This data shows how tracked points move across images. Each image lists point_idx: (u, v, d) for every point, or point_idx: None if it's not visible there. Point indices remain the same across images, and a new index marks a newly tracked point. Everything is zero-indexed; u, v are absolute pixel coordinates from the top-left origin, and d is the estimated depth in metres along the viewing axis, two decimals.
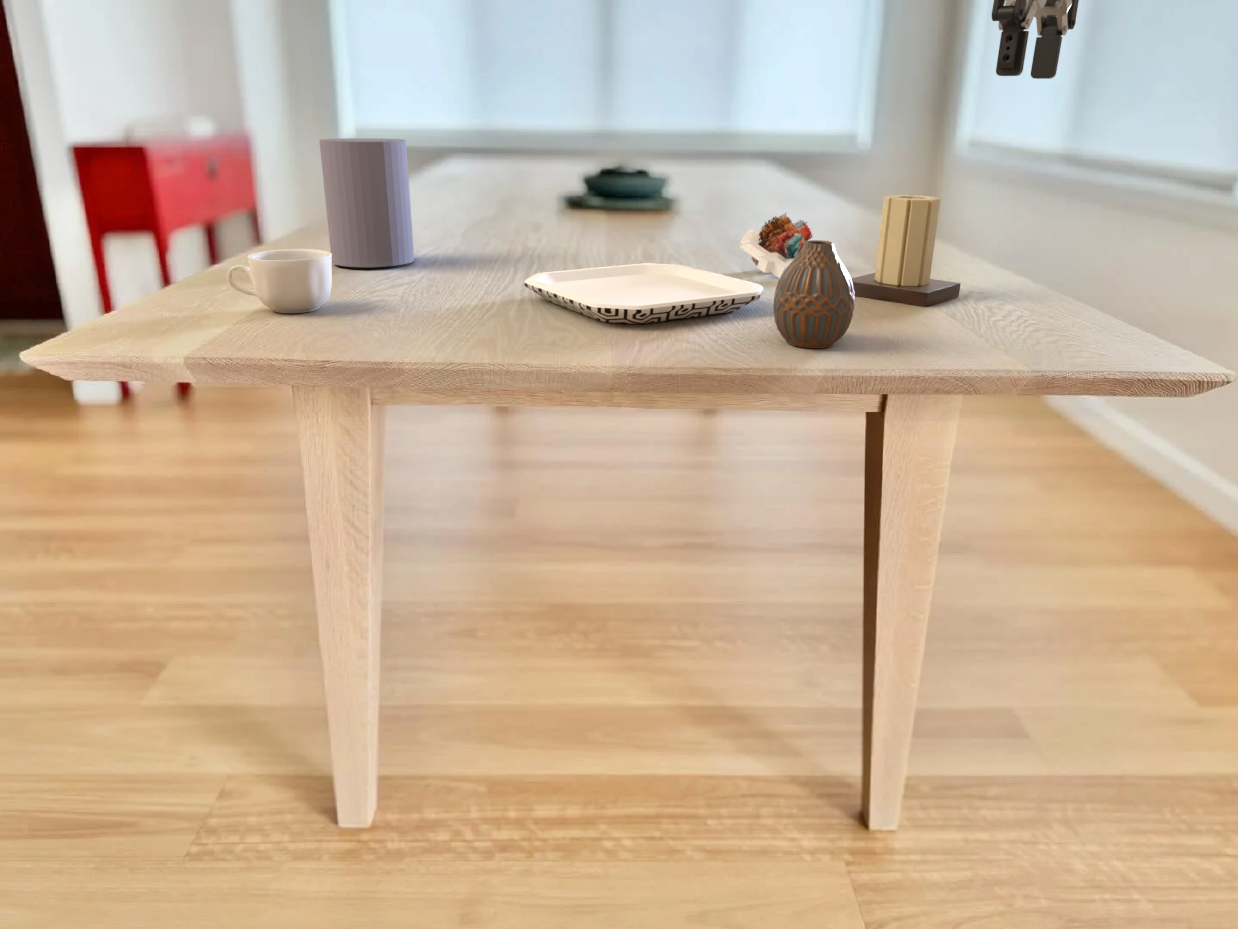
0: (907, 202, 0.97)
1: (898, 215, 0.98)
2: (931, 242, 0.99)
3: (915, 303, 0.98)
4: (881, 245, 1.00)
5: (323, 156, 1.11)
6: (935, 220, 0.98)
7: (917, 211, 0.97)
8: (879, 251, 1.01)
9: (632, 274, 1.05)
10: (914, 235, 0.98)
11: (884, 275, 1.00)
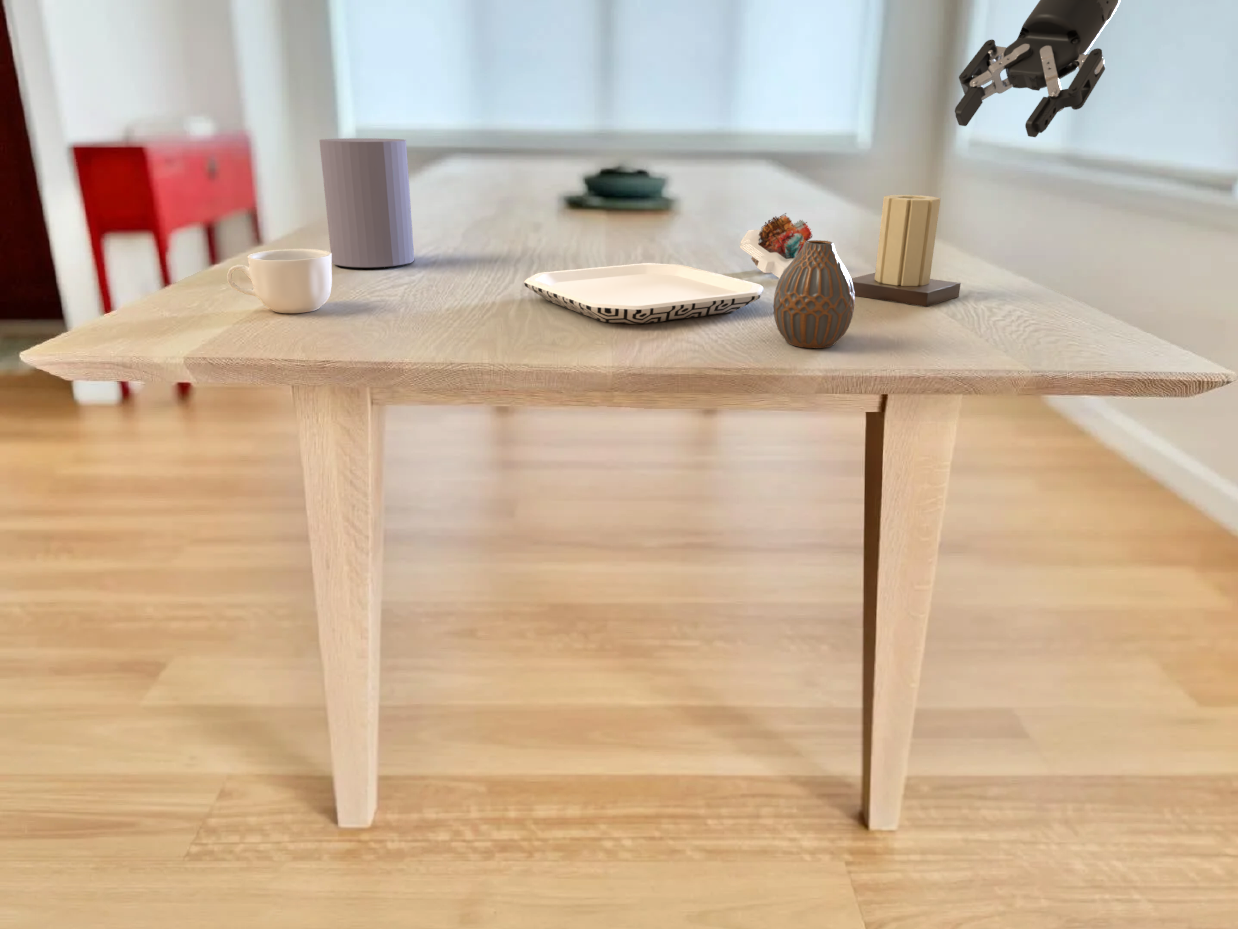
0: (907, 202, 0.97)
1: (898, 215, 0.98)
2: (931, 242, 0.99)
3: (915, 303, 0.98)
4: (881, 245, 1.00)
5: (323, 156, 1.11)
6: (935, 220, 0.98)
7: (917, 211, 0.97)
8: (879, 251, 1.01)
9: (632, 274, 1.05)
10: (914, 235, 0.98)
11: (884, 275, 1.00)
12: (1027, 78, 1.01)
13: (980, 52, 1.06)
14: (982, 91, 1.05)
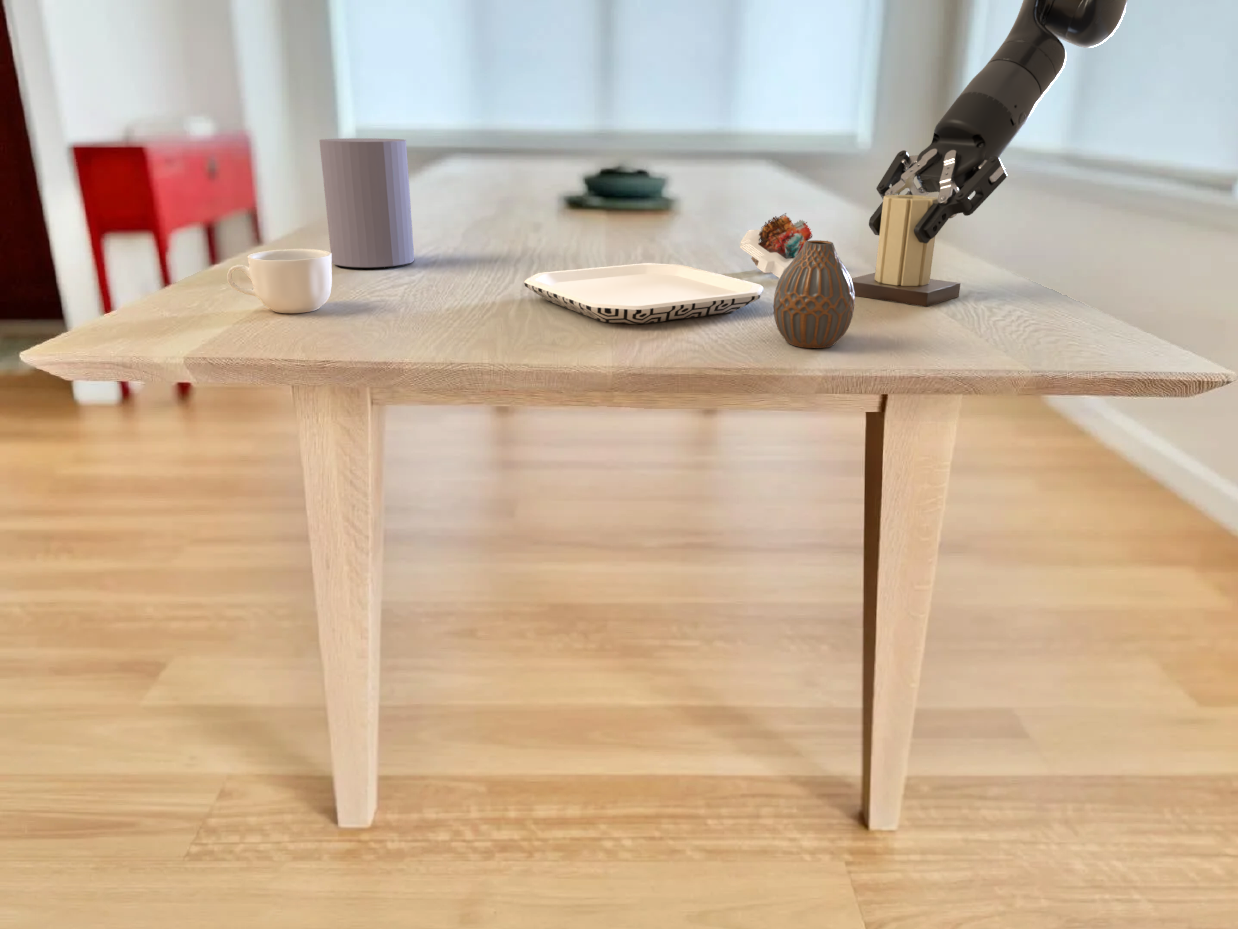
0: (907, 202, 0.97)
1: (898, 215, 0.98)
2: (931, 242, 0.99)
3: (915, 303, 0.98)
4: (881, 245, 1.00)
5: (323, 156, 1.11)
6: None
7: (917, 211, 0.97)
8: (879, 251, 1.01)
9: (632, 274, 1.05)
10: (914, 235, 0.98)
11: (884, 275, 1.00)
12: (934, 182, 0.99)
13: (893, 163, 1.04)
14: None
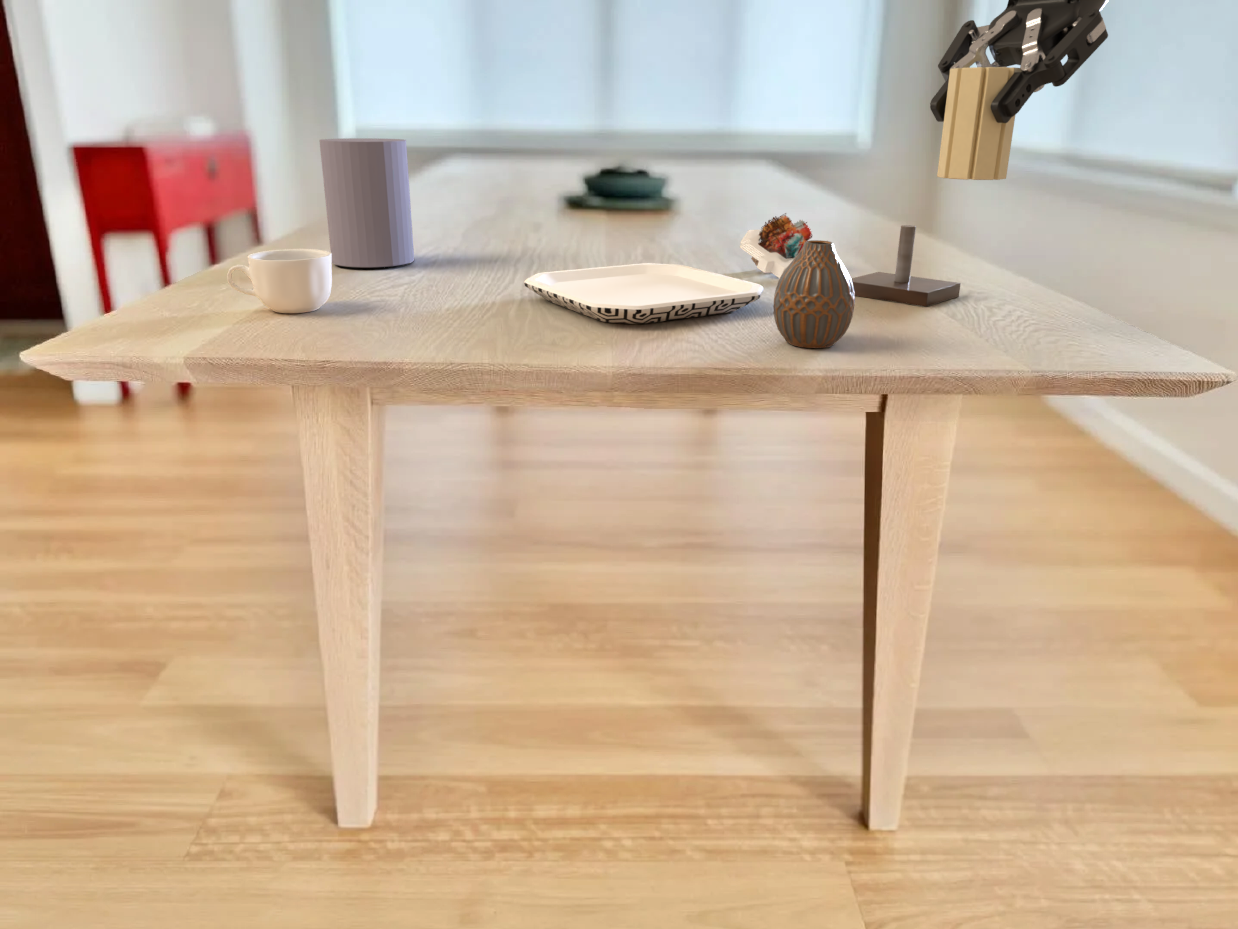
0: (982, 71, 0.77)
1: (970, 88, 0.78)
2: (1010, 124, 0.79)
3: (915, 303, 0.98)
4: (947, 130, 0.81)
5: (323, 156, 1.11)
6: None
7: (994, 82, 0.77)
8: (944, 139, 0.82)
9: (632, 274, 1.05)
10: (990, 113, 0.78)
11: (951, 167, 0.81)
12: (1013, 50, 0.80)
13: (958, 36, 0.85)
14: None
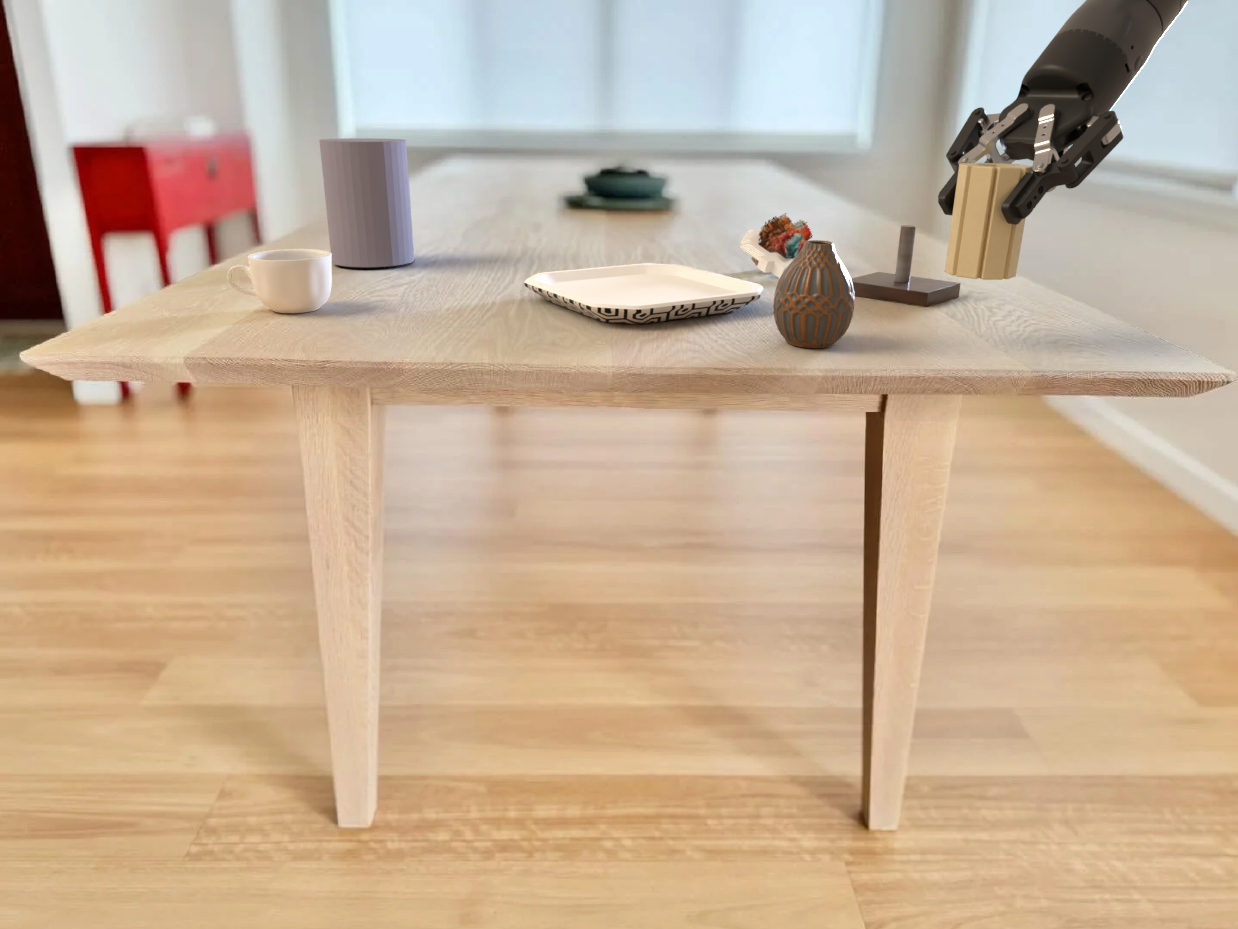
0: (993, 171, 0.75)
1: (980, 188, 0.76)
2: (1021, 223, 0.77)
3: (915, 303, 0.98)
4: (955, 227, 0.78)
5: (323, 156, 1.11)
6: None
7: (1005, 182, 0.75)
8: (952, 235, 0.79)
9: (632, 274, 1.05)
10: (1000, 214, 0.76)
11: (959, 266, 0.78)
12: (1025, 146, 0.77)
13: (967, 124, 0.82)
14: None
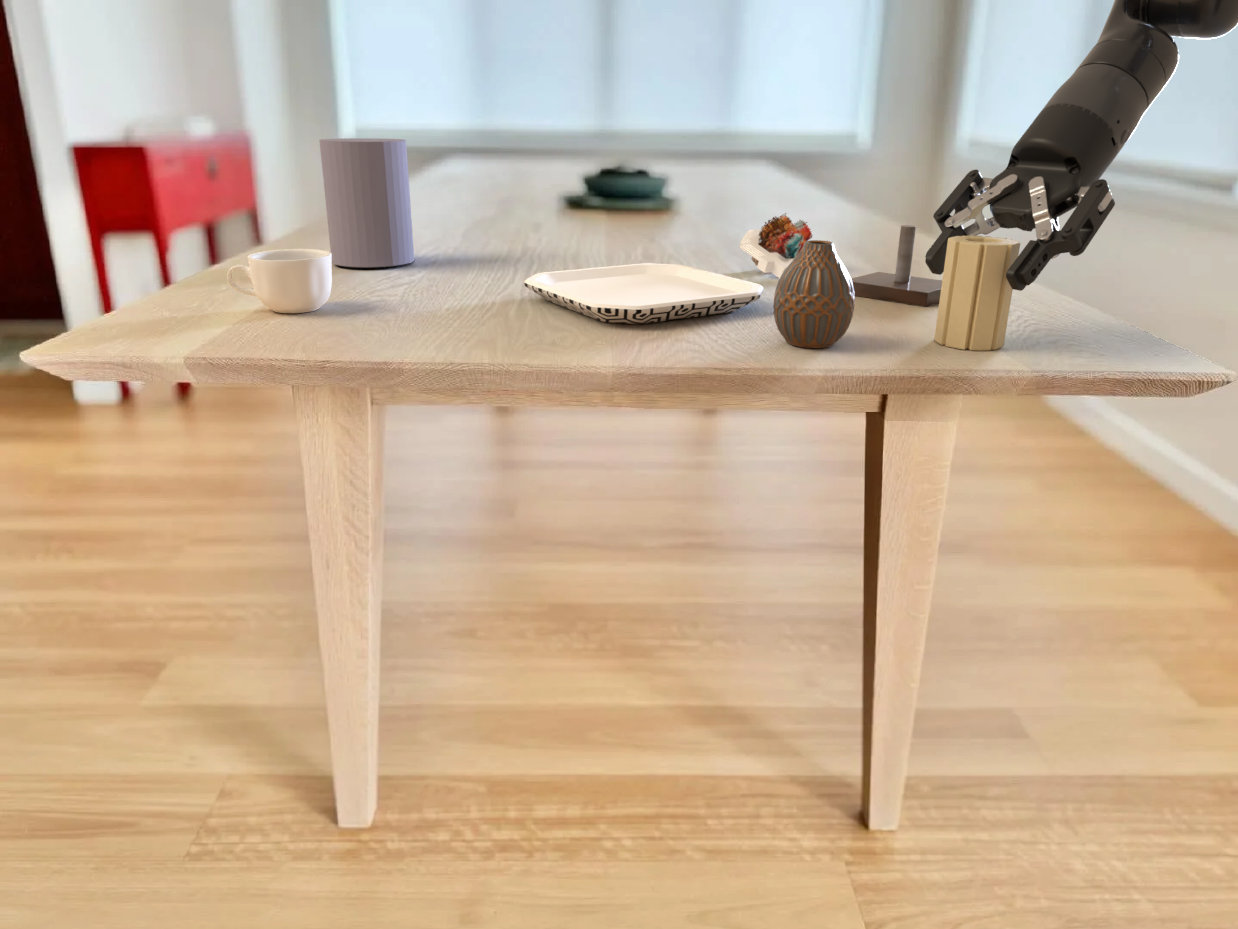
0: (980, 247, 0.77)
1: (968, 263, 0.78)
2: (1008, 296, 0.79)
3: (915, 303, 0.98)
4: (944, 299, 0.81)
5: (323, 156, 1.11)
6: None
7: (992, 259, 0.77)
8: (941, 306, 0.81)
9: (632, 274, 1.05)
10: (988, 288, 0.78)
11: (948, 336, 0.81)
12: (1014, 217, 0.79)
13: (960, 185, 0.85)
14: (962, 232, 0.83)
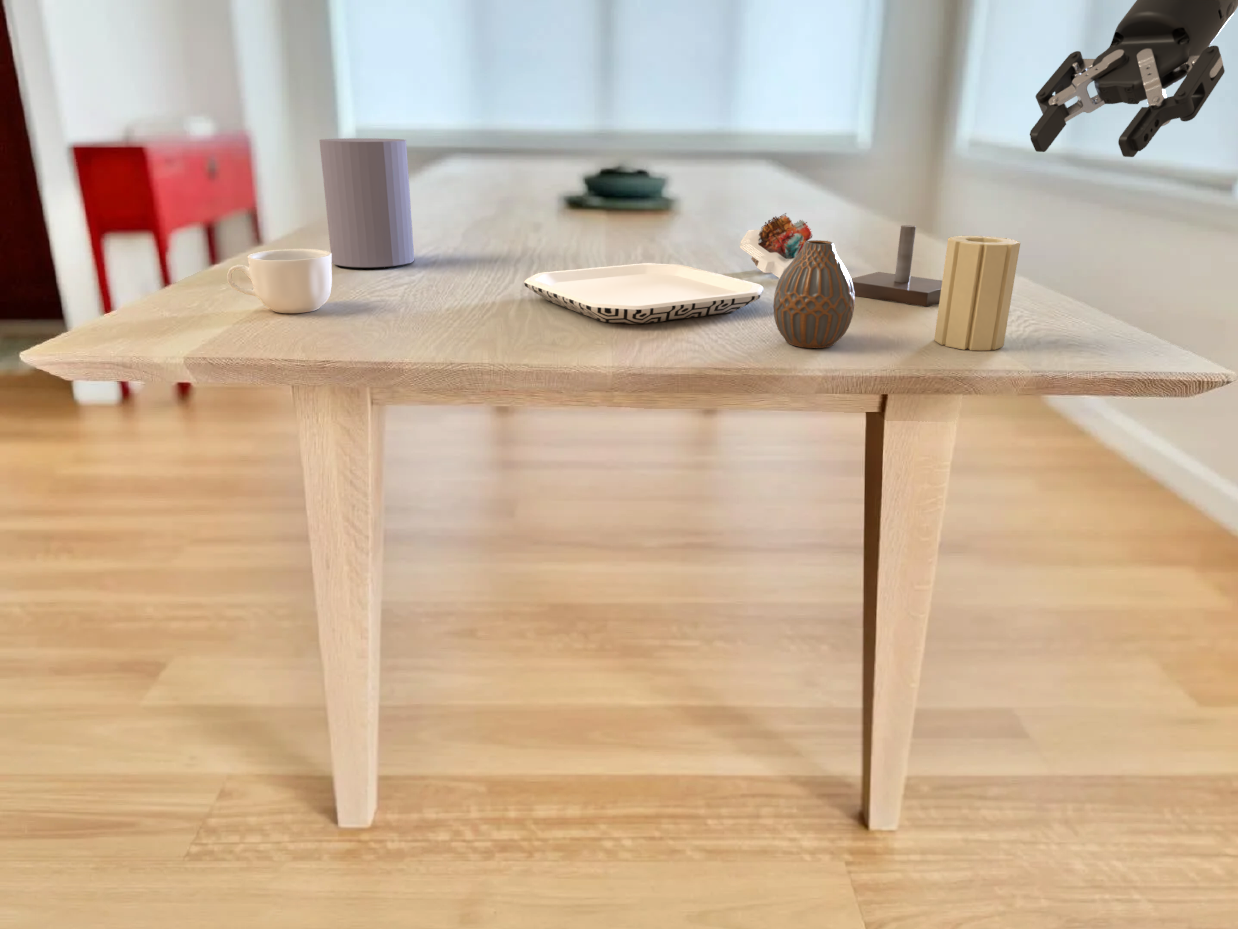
0: (980, 247, 0.77)
1: (968, 263, 0.78)
2: (1008, 296, 0.79)
3: (915, 303, 0.98)
4: (944, 299, 0.81)
5: (323, 156, 1.11)
6: (1013, 269, 0.78)
7: (992, 259, 0.77)
8: (941, 306, 0.81)
9: (632, 274, 1.05)
10: (988, 288, 0.78)
11: (948, 336, 0.81)
12: (1121, 89, 0.81)
13: (1062, 66, 0.87)
14: (1065, 110, 0.85)
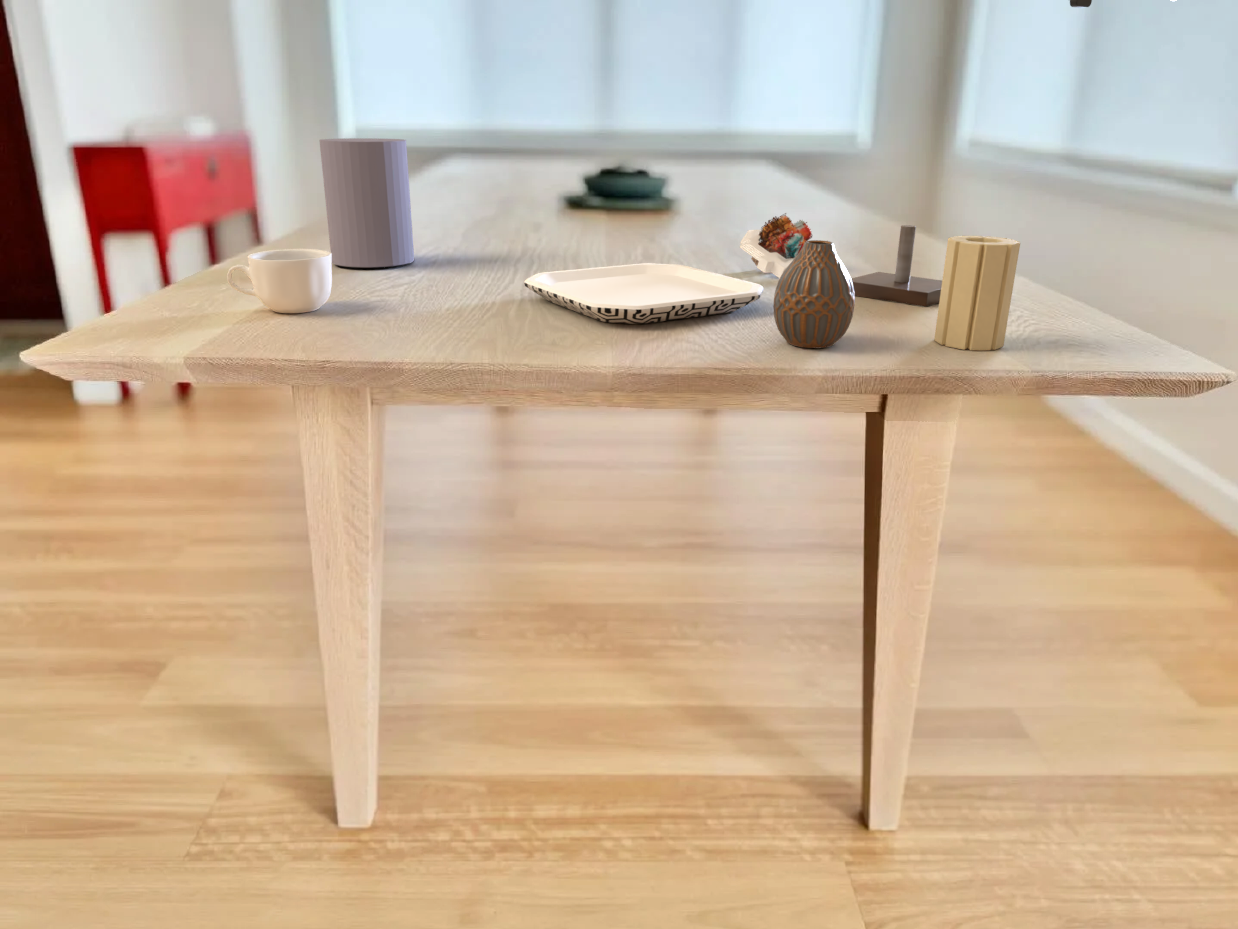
0: (980, 247, 0.77)
1: (968, 263, 0.78)
2: (1008, 296, 0.79)
3: (915, 303, 0.98)
4: (944, 299, 0.81)
5: (323, 156, 1.11)
6: (1013, 269, 0.78)
7: (992, 259, 0.77)
8: (941, 306, 0.81)
9: (632, 274, 1.05)
10: (988, 288, 0.78)
11: (948, 336, 0.81)
12: None
13: None
14: None
